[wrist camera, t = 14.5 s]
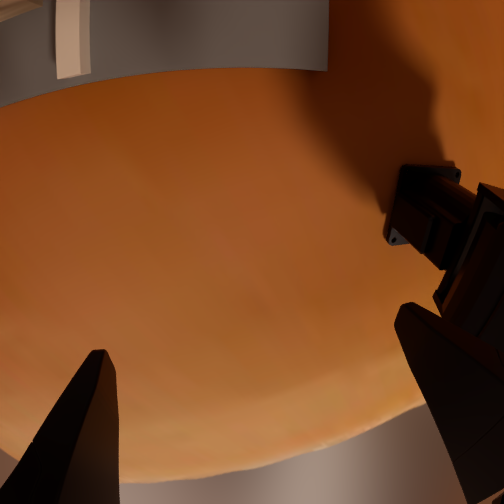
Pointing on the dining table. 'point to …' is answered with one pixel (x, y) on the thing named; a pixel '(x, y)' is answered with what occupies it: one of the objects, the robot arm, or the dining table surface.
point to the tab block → (17, 7)
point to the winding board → (155, 40)
